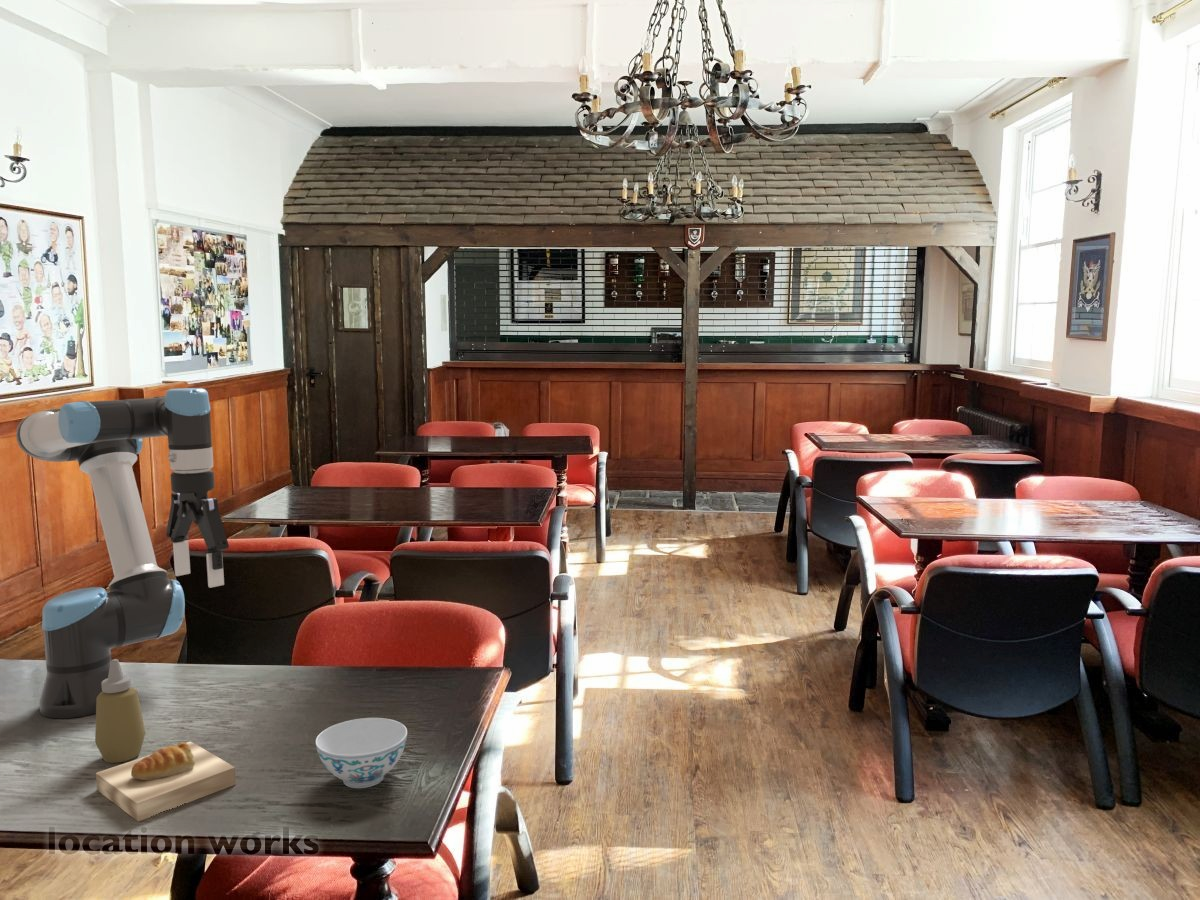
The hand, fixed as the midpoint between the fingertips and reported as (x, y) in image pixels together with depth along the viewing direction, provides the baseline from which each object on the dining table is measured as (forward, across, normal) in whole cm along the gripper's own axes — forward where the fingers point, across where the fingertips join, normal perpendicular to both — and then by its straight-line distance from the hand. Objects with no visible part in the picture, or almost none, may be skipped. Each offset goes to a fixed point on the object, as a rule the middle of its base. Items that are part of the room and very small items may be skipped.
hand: (199, 580), depth 179 cm
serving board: (+29, +20, -17) cm, 39 cm away
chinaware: (+29, +43, +6) cm, 52 cm away
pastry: (+26, +20, -17) cm, 37 cm away
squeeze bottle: (+29, +2, -17) cm, 34 cm away
